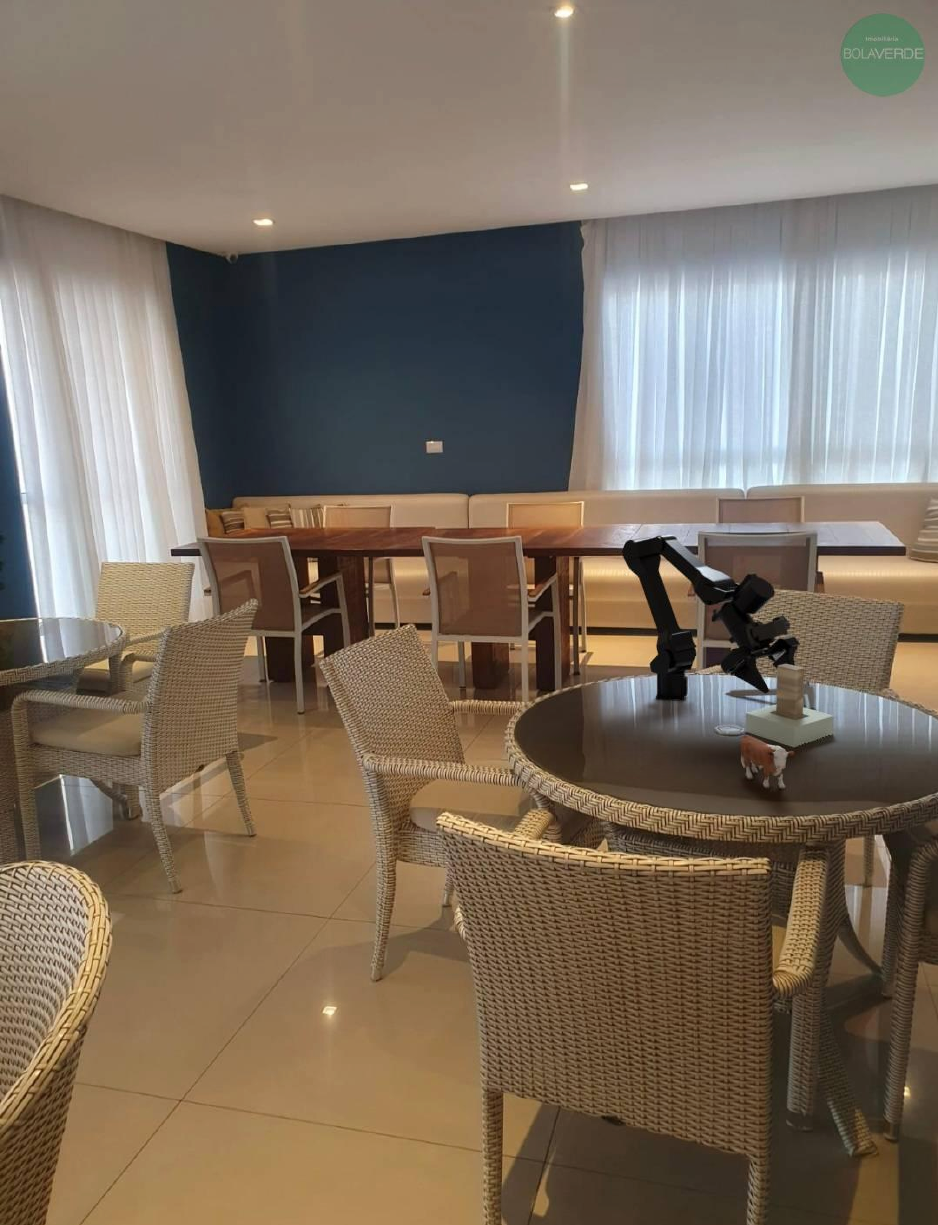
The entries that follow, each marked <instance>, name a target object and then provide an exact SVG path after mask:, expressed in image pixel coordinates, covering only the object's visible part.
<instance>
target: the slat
mask: <svg viewBox="0 0 938 1225" xmlns="http://www.w3.org/2000/svg"><path fill="white" fill-rule="evenodd" d="M776 670H777V673H776V688H777V695H776V704H775V705H776V715H779V716H782V717H785V718H789V719H792V720H799V719H802V718H803V695H804V696H805V694H804V682H805V667H801V666H797V665H795V666H794V665H789V664H782V665H779V666H777V668H776Z"/></svg>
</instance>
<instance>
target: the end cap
mask: <svg viewBox="0 0 938 1225" xmlns="http://www.w3.org/2000/svg"><path fill="white" fill-rule="evenodd" d="M834 718H835V715H833V714H829V713H826V712H822V711H819V710H815V709H812V708H808V707H803V718H802V719H799V720H792V719H789V718H785V717H782V716H779V715H776V704H772V705H769V706H765V707H762V708H758V709H754V710H752V711H748V712H745V725H744V726H745V727H744V729H745V731H744V732H745V733H749V734H753V735H755V736H758V737H761V738H764V739H767V740H771V741H774V742H777V743H779V744H782V745H785V746H789V747H791V748H796V747H800V746H802V744H803V745H805V744H804V743H806V744H808V742H809V743H811V742H814V741H817V739H818V740H821V739H823V738H822V737H824V738H826V737H825V736H827V737H829V736H828V735H830V736H833V735H834V723H835V722H834V721H835V720H834ZM832 734H833V735H832ZM820 738H821V739H820ZM799 745H800V746H799Z"/></svg>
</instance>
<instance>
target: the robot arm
mask: <svg viewBox="0 0 938 1225" xmlns="http://www.w3.org/2000/svg"><path fill="white" fill-rule="evenodd" d="M621 554H622V557H623V559H624V562H625V563H626V565H627V567H628V569H629V570H630V571H631V572H632V573H633V574H634V575H636V577H637V578H638V579H639V582H640V585H641V589H642V591H643V593H644V596H645V600H646V601H647V605H648V608H649V611H650V613H651V617H652V619H653V622H654V624H655V625H654V626H655V628H656V630H657V634H658V635H657V639H656V643H655V644H656V645H655V647H656V652H657V655H655V656H654V658H653V659H652V660H651V661H650V662H649V668H650V672H651V673H653V674H656V695H655V699H656V700H670V701H673V700H674V701H684V700H685V699H686V697H687V695H688V694H689V693H688V692H689V691H688V690H689V689H688V687H689V677H688V676H687V675H686V672H687V671H691V670H692V667H693V664H694V661H695V660H696V657H697V650H696V649H697V648H698V647H697V645H696V643H695V641H694V638H693V634H692V632H691V631H690V630H688V631H684V630H683V629H682V628H681V627H680V626H679V622H678V621H677V617H676V615H675V611H674V609H673V607H672V604H671V601H670V598H669V595H668V592H667V590H666V587H665V584H664V581H663V578H662V576H661V573H660V566H661V560H662V557H663V558H664V559H665V560H667V562H668V563H669V564H671V565H672V567H674V568H675V569H676V570H677V571H678V572H679V573H681V575H683V576H684V577H685V578H686V579H687V580H688V581H689V582H690V583H691V584H692V587H693V591H694V593H695V595H697V597H698V598H699V600H700V601H701V602H702V603H703V604H704V605H706V606H713V605H720V604H722V606H720V608H714V609H713V610H712V612H713V613H712V616H711V623H717V622H722V624H723V626H724V627H725V629H726V630H727V632H728V633H729V635H730V636H731V637H730V638H729V639H728V641H729V643H730V644H735V645H736V646H737V647H735V648H732V649H731V650H729V652H727V654H726V655H725V656H723V658H722V659H721V660H720V666H719V667H720V668H721V669H722V671H723V673H724V674H729V675H730V676H732V677H736V678H737V679H740V680H741V681H743V682H746V683H747V684H749V685H751V687H754V689H758V690H760V691H762V692H763V693H765V694H766V693H768V692H769V689H768V688H769V687H768V685H767V683H766V680H765V679H764V677H763V676H762V674H761V672H760V670H759V669H758V667H757V660H758V659H764V658H767V657H768V659H769V660H770V661H772V666H774V668H776V669H777V666H779V665H782V664H789V665H794V666H796V663H795V655H796V654H795V653H796V652H797V651H798V649H799V648H798V647H800V646H801V643H800V642H799V641H798V639H797V638H796V637H795V636H792V635H788V634H789V632H788V630H790V628H791V623H790V622H789V620H788V619H787V617H786V616H784V615H778V616H776V617H773V618H772V621H769V622H766V623H763V622H762V621H760V620H757V621H755V619H754V618H753V617H752V615H755V614H757V613H758V612H760V610H761V609H762V608H763V607H764V606H765V605H766V604H767V603H769V601H770V600H771V599H772V598H773V597H774V596H775V593H776V592H775V588H774V586H773V585H772V583H771V582H768V581H767V580H766V579H764V578H762V577H760V576H758V575H757V574H756V573H755V572H752V573H747V575H746V576H744V579H743V580H742V581H741V582H740V583H738V582H736V581H735V580H734V579H733V578H732V577H730V576H729V575H727V574H725V573H723V572H721V571H719V570H716V569H713V568H711V567H709V566H707V565H706V564H705V563H703V561H702V560H701V559H699V558H698V556H696V555H695V554H693V552H691V551H690V550H689V549H688V548H687V547H686V546H684V545H683V544H682V543H681V541H679V540H678V538H677V536H675V535H673V534H668V533H667V534H662V535H661V534H660V535H657V536H655V537H641V538H634V539H628V540H627V541H625V542H624V544H623V547H622V549H621ZM782 635H784V636H782ZM785 635H787V636H785ZM779 636H782V637H779ZM776 637H779V638H778V639H777V640H776Z"/></svg>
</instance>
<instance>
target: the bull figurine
mask: <svg viewBox="0 0 938 1225" xmlns="http://www.w3.org/2000/svg"><path fill="white" fill-rule="evenodd" d="M739 744H740V746H739V747H740V751H741V754H740V762H741V765H742V767H743V769H746V773H745V776H746V778H747V779H748V780H753V779H754V777H753V774H758V773H759V771H758V769H759V770H762V768H763V771H764V772H763V773H764V780H763V782H762V784H763V787H764V788H766V789H769V788H770V783H769V779H770V776H771V775H772V776H774V777H777V779H778V786H779V789H783V790H784V789H786V785H785V784H784V781H783V777H784V776H783V775H784V774H783V770H784V769H785V768H786V767H787V766H786V762H787V757H792V756H793V755H795V752H794V751H793V750H791V751H786V749H785V748H783V747H781V746H780V745H773V744H768V743H766V742H764V741H763V740H760V739H758V738H756V737H753V736H751V735H749V734H745V735H744V736H743V738H741V740H740V743H739ZM750 765H751V769H750ZM757 767H758V769H757ZM751 770H752V772H751ZM752 773H753V774H752ZM770 774H771V775H770Z"/></svg>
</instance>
